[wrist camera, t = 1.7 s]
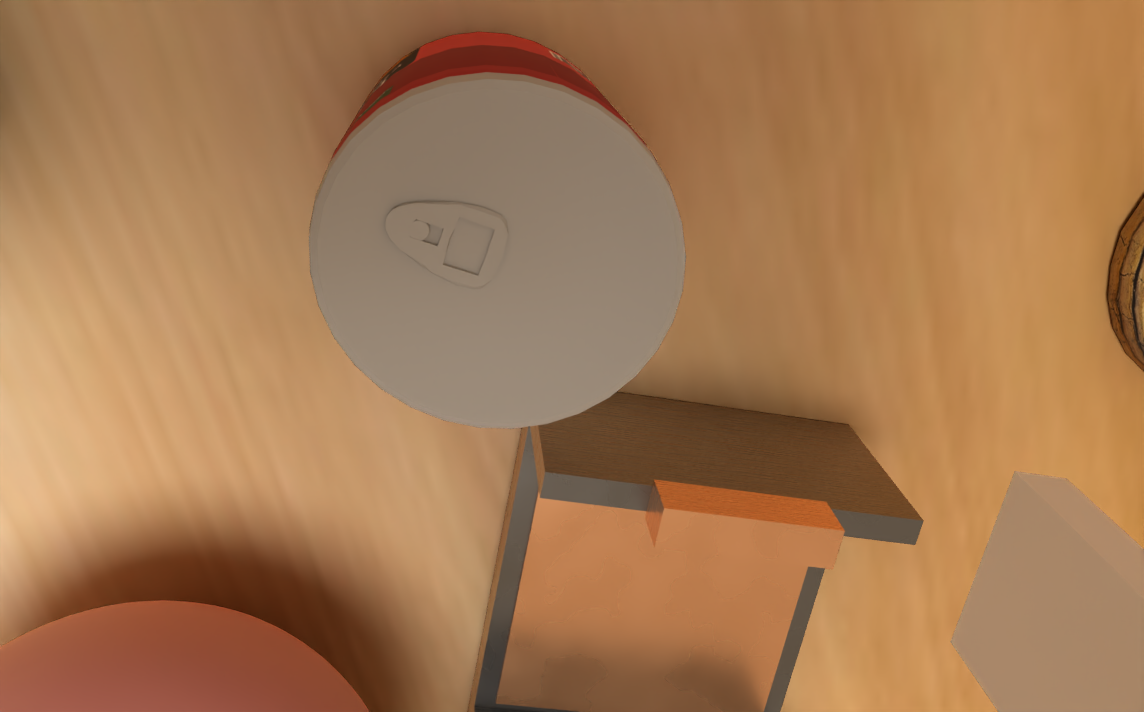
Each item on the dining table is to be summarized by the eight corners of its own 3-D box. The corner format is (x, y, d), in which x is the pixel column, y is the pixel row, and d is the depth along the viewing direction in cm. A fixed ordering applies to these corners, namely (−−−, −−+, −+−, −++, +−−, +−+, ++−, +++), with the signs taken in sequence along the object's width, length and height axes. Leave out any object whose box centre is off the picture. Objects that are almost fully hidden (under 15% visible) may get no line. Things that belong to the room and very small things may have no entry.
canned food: (356, 16, 31) (304, 59, 21) (633, 40, 32) (714, 93, 22) (351, 275, 34) (303, 425, 24) (607, 290, 35) (667, 440, 24)
